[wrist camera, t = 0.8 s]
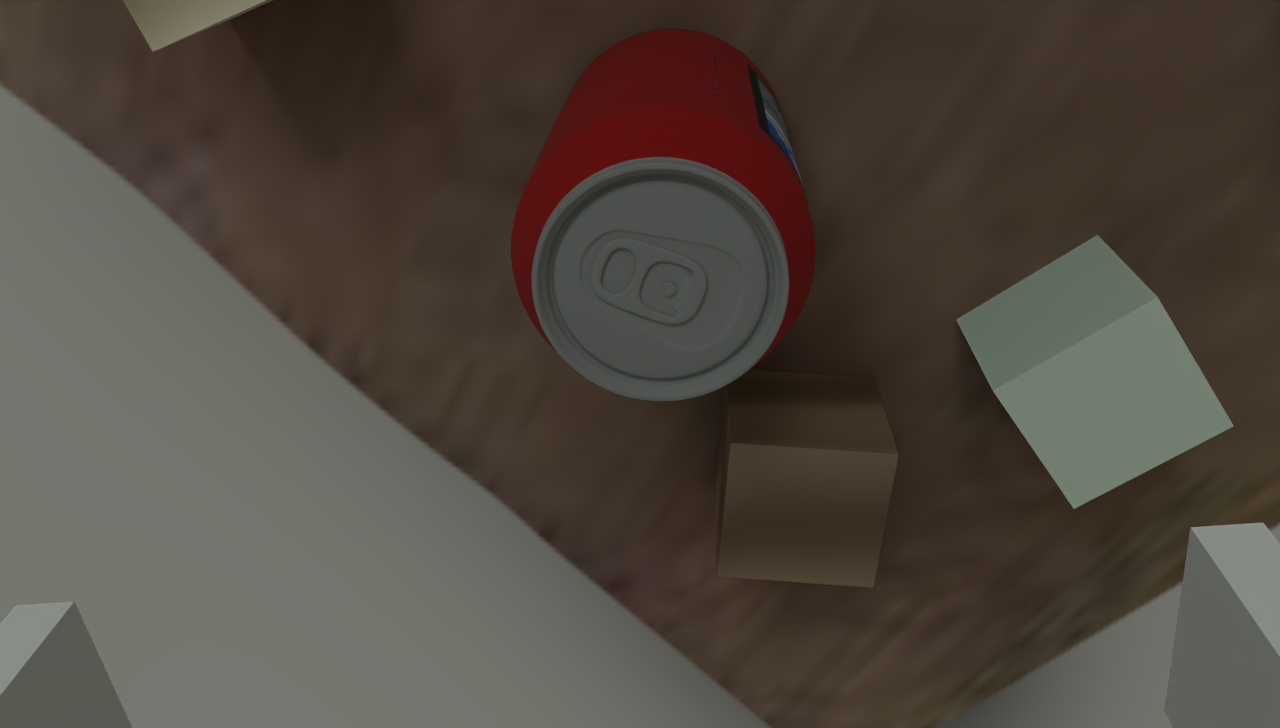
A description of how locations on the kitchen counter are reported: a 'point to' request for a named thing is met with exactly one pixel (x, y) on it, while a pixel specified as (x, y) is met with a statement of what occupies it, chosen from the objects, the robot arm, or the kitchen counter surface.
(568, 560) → the kitchen counter surface
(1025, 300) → the cube sage
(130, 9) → the cube beech
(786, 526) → the cube walnut
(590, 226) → the beverage can
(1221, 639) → the robot arm
